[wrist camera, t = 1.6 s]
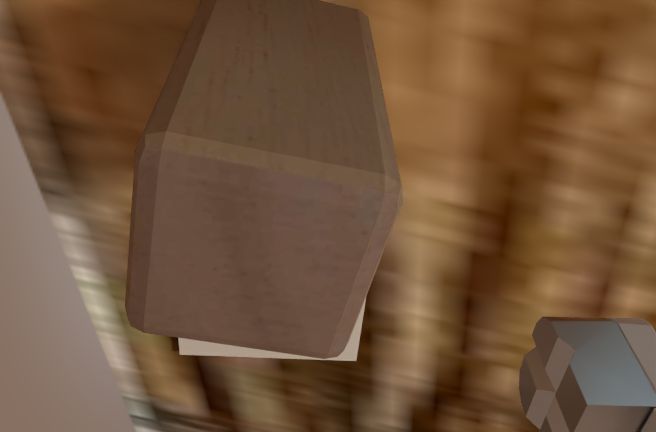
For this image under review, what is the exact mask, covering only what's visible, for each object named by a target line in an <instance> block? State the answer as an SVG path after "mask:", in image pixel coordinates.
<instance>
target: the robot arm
mask: <svg viewBox="0 0 656 432" xmlns="http://www.w3.org/2000/svg"><path fill="white" fill-rule="evenodd" d="M532 336H533V339H534V341H535V344H536V347H535V348H534V349H532V350H531V351H530V352H528V353H527V354H525V355H524V358H523V362H522V365H521V368H520V375H519V391H520V398H521V403H522V406H523V409H524V413H525V416H526V417H527V418H528V419H529V420H530V421H531V422H532V423H533V424H534V425H535V426H537V427H538V428H539V429H540V431H539V432H656V332H655V330H654V329H653V327H652V325H651V324H650V323H648V322H647V321H646V320H644V319H639V318H608V319H607V318H584V317H542V318H541V319H540V320H539V321H538V322H537V323H536V326H535V329H534V331H533V334H532Z"/></svg>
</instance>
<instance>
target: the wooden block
mask: <svg viewBox="0 0 656 432" xmlns="http://www.w3.org/2000/svg"><path fill="white" fill-rule="evenodd" d="M402 202H403V197H402V187H401V181H400V176H399V171H398V166H397V160H396V155H395V150H394V145H393V140H392V135H391V130H390V125H389V120H388V115H387V110H386V105H385V100H384V95H383V90H382V85H381V80H380V75H379V70H378V65H377V60H376V54H375V49H374V44H373V39H372V34H371V29H370V24H369V19H368V17H367V16H366V15H364V14H363V13H362V12H360V11H359V10H356V9H352V8H348V7H344V6H340V5H335V4H331V3H327V2H323V1H319V0H202V1H201V3H200V5H199V8H198V10H197V12H196V14H195V17H194V19H193V21H192V23H191V26H190V28H189V30H188V32H187V35H186V37H185V39H184V42H183V44H182V46H181V48H180V51H179V53H178V55H177V57H176V60H175V62H174V64H173V66H172V69H171V71H170V73H169V75H168V78H167V80H166V82H165V84H164V87H163V89H162V91H161V93H160V96H159V98H158V100H157V102H156V105H155V107H154V109H153V111H152V114H151V116H150V118H149V120H148V123H147V125H146V127H145V129H144V132H143V134H142V136H141V139H140V141H139V143H138V145H137V148H136V150H135V165H134V179H133V194H132V209H131V224H130V239H129V254H128V269H127V284H126V299H125V308H126V312H127V317H128V320H129V322H130V325H131V326H132V327H134V328H136V329H138V330H140V331H142V332H144V333H150V334H157V335H164V336H171V337H178V338H184V339H191V340H198V341H205V342H212V343H218V344H225V345H232V346H239V347H246V348H253V349H259V350H266V351H273V352H280V353H287V354H293V355H300V356H307V357H314V358H321V359H328V358H333V357H338V356H339V355H340V354H341V353H342V352H343V351H344V349H345V347H346V345H347V343H348V341H349V339H350V337H351V334H352V332H353V329H354V326H355V324H356V321H357V319H358V316H359V313H360V311H361V308H362V306H363V303H364V301H365V298H366V295H367V293H368V290H369V288H370V285H371V282H372V280H373V277H374V275H375V272H376V269H377V267H378V264H379V262H380V259H381V256H382V254H383V251H384V249H385V246H386V244H387V241H388V238H389V236H390V233H391V231H392V228H393V225H394V223H395V220H396V218H397V215H398V212H399V210H400V207H401V205H402Z"/></svg>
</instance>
